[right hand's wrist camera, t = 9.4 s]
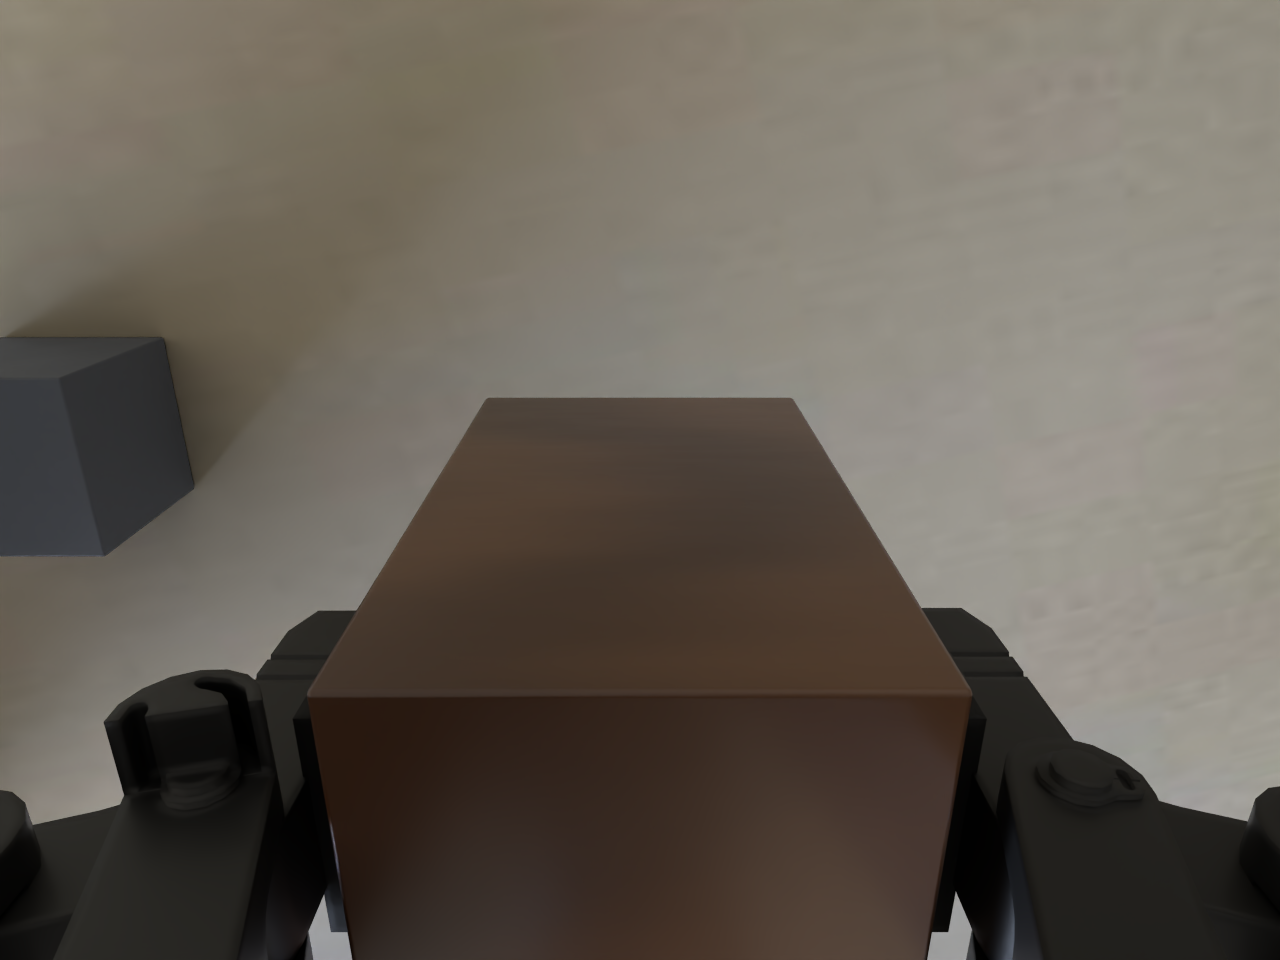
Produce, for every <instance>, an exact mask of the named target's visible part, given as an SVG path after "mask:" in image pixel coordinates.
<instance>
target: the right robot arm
mask: <svg viewBox="0 0 1280 960" xmlns="http://www.w3.org/2000/svg"><path fill="white" fill-rule="evenodd" d="M921 609H922V610H923V612H924V613H925V615H926V617H927V618H928V620H929V622H930V623H931V625H932V626H933V628H934V630H935V631H936V633H937V635H938V636H939V638H940V639H941V641H942V643H943V644H944V646H945V648H946V649H947V651H948V653H949V654H950V656H951V657H952V659H953V661H954V662H955V664H956V666H957V667H958V669H959V670H960V672H961V674H962V675H963V677H964V679H965V680H966V682H967V684H968V685H969V687H970V688H971V691H972V701H971V707H970V713H969V719H968V724H967V730H966V736H965V742H964V748H963V753H962V759H961V765H960V771H959V777H958V783H957V788H956V794H955V800H954V806H953V812H952V817H951V823H950V829H949V835H948V841H947V847H946V852H945V858H944V864H943V870H942V876H941V881H940V887H939V893H938V899H937V905H936V911H935V916H934V922H933V928H932V932H948V931H949V925H950V919H951V914H952V908H953V903H954V897H955V892H957V895H958V897H959V899H960V902H961V904H962V907H963V909H964V911H965V914H966V916H967V918H968V921H969V923H970V925H971V928H972V933H971V938H970V943H969V948H968V953H967V958H966V960H1280V786H1279V787H1273V788H1268V789H1267V790H1266V791H1264V792H1263V793H1262V794H1261V795H1260V796H1258V797H1257V798H1256V799H1255V802H1254V805H1253V808H1252V811H1251V814H1250V817H1249V820H1248V822H1247V821H1243V820H1238V819H1233V818H1229V817H1224V816H1220V815H1215V814H1210V813H1206V812H1201V811H1197V810H1192V809H1187V808H1183V807H1179V806H1175V805H1172V804H1168V803H1165V802H1161V801H1159V800H1158V798H1157V795H1156V794H1155V792H1154V791H1153V789H1152V788H1151V787H1150V785H1149V784H1148V782H1147V781H1146V780H1145V778H1144V777H1143V776H1142V775H1141V774H1140V773H1139V772H1137V771H1136V770H1135V769H1134V768H1132V767H1131V766H1130V765H1128V764H1127V763H1126V762H1124V761H1123V760H1122V759H1120V758H1119V757H1116V756H1114V755H1112V754H1110V753H1108V752H1106V751H1104V750H1102V749H1100V748H1097V747H1095V746H1093V745H1090V744H1086V743H1082V742H1078V741H1074V740H1073V739H1072V737H1071V736H1070V735H1069V733H1068V732H1067V731H1066V729H1065V728H1064V727H1063V725H1062V724H1061V722H1060V721H1059V720H1058V718H1057V717H1056V716H1055V714H1054V713H1053V712H1052V710H1051V709H1050V707H1049V706H1048V705H1047V703H1046V702H1045V701H1044V699H1043V698H1042V697H1041V695H1040V694H1039V692H1038V691H1037V690H1036V688H1035V687H1034V686H1033V684H1032V683H1031V682H1030V680H1029V679H1028V677H1024V676H1023V671H1022V669H1021V668H1020V667H1019V665H1018V664H1017V662H1016V661H1015V660H1014V658H1013V657H1009V652H1008V650H1007V649H1006V647H1005V646H1004V645H1003V643H1002V642H1001V641H1000V639H999V638H998V637H997V635H996V634H995V632H994V631H993V630H992V628H990V627H989V626H987V625H986V624H984V623H983V622H981V621H980V620H978V619H977V618H975V617H974V616H972V615H971V614H969V613H968V612H966V611H965V610H963V609H962V608H921ZM355 613H356V611H317V612H316V613H314V614H313V615H311V616H310V617H309V618H307V619H306V620H304V621H303V622H301V623H300V624H298V625H297V626H295V627H294V628H292V629H291V630H289V631H288V632H287V634H286V635H285V636H284V638H283V639H282V640H281V642H280V643H279V645H278V646H277V647H276V649H275V650H274V651H273V653H272V654H271V660H267V661H266V662H265V664H264V665H263V667H262V668H261V669H260V671H259V672H258V673H257V678H256V680H254V679H253V678H251V677H250V676H249V675H248V674H244V673H239V672H235V671H231V670H200V671H195V672H191V673H186V674H182V675H178V676H173V677H170V678H167V679H165V680H162V681H160V682H157V683H155V684H153V685H150V686H148V687H145V688H143V689H141V690H140V691H138V692H137V693H135V694H134V695H132V696H131V697H129V698H128V699H126V700H125V701H123V702H122V703H120V704H119V705H118V706H117V707H116V708H115V709H114V710H113V712H112V713H111V714H110V715H109V716H108V718H107V719H106V720H105V721H104V725H105V728H106V732H107V736H108V739H109V743H110V746H111V750H112V753H113V757H114V760H115V764H116V768H117V771H118V775H119V778H120V782H121V785H122V789H123V792H124V797H123V799H122V802H121V804H120V805H118V806H114V807H111V808H107V809H104V810H100V811H95V812H91V813H86V814H82V815H77V816H73V817H68V818H63V819H59V820H54V821H50V822H45V823H41V824H36V825H32V822H31V819H30V816H29V813H28V810H27V807H26V804H25V802H23V801H22V800H21V799H20V798H19V797H17V796H16V795H15V794H14V793H13V792H9V791H2V790H0V960H313V955H312V948H311V943H310V938H309V933H308V931H309V928H310V926H311V924H312V921H313V919H314V916H315V914H316V912H317V909H318V907H319V905H320V902H321V900H322V898H323V895H325V901H326V906H327V912H328V917H329V923H330V928H331V932H348V931H347V925H346V920H345V914H344V908H343V902H342V896H341V891H340V885H339V879H338V873H337V867H336V862H335V856H334V850H333V844H332V838H331V833H330V827H329V821H328V815H327V809H326V804H325V798H324V792H323V786H322V780H321V774H320V769H319V763H318V757H317V751H316V745H315V740H314V734H313V728H312V722H311V716H310V711H309V705H308V699H307V692H308V689H309V688H310V686H311V684H312V683H313V681H314V680H315V678H316V676H317V675H318V673H319V671H320V670H321V668H322V666H323V665H324V663H325V662H326V660H327V658H328V657H329V655H330V653H331V652H332V650H333V648H334V647H335V645H336V644H337V642H338V640H339V639H340V637H341V635H342V634H343V632H344V631H345V629H346V627H347V626H348V624H349V622H350V621H351V619H352V617H353V616H354V614H355Z"/></svg>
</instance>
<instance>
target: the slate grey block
mask: <svg viewBox="0 0 1280 960" xmlns="http://www.w3.org/2000/svg"><path fill="white" fill-rule="evenodd" d="M193 489H194V484H193V480H192V475H191V470H190V465H189V460H188V455H187V451H186V446H185V441H184V436H183V431H182V426H181V422H180V417H179V412H178V407H177V402H176V397H175V393H174V388H173V383H172V378H171V373H170V369H169V364H168V359H167V354H166V349H165V344H164V340H163V338H161V337H1V338H0V556H106V555H107V554H109V553H110V552H111V551H112V550H114V549H115V548H116V547H118V546H119V545H120V544H122V543H123V542H124V541H126V540H127V539H128V538H130V537H131V536H132V535H134V534H135V533H136V532H137V531H139V530H140V529H141V528H143V527H144V526H145V525H147V524H148V523H149V522H151V521H152V520H153V519H155V518H156V517H157V516H159V515H160V514H161V513H162V512H164V511H165V510H166V509H168V508H169V507H170V506H172V505H173V504H174V503H176V502H177V501H178V500H180V499H181V498H182V497H184V496H185V495H186V494H187V493H189V492H190V491H191V490H193Z"/></svg>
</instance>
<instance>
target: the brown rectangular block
mask: <svg viewBox="0 0 1280 960" xmlns="http://www.w3.org/2000/svg"><path fill="white" fill-rule="evenodd" d="M307 699H308V705H309V711H310V716H311V722H312V728H313V734H314V740H315V745H316V751H317V757H318V763H319V769H320V774H321V780H322V786H323V792H324V798H325V804H326V809H327V815H328V821H329V827H330V833H331V838H332V844H333V850H334V856H335V862H336V867H337V873H338V879H339V885H340V891H341V896H342V902H343V908H344V914H345V920H346V925H347V931H348V937H349V943H350V949H351V954H352V960H927V957H928V951H929V945H930V940H931V934H932V928H933V922H934V916H935V911H936V905H937V899H938V893H939V887H940V881H941V876H942V870H943V864H944V858H945V852H946V847H947V841H948V835H949V829H950V823H951V817H952V812H953V806H954V800H955V794H956V788H957V783H958V777H959V771H960V765H961V759H962V753H963V748H964V742H965V736H966V730H967V724H968V719H969V713H970V707H971V701H972V691H971V688H970V687H969V685H968V684H967V682H966V680H965V679H964V677H963V675H962V674H961V672H960V670H959V669H958V667H957V666H956V664H955V662H954V661H953V659H952V657H951V656H950V654H949V653H948V651H947V649H946V648H945V646H944V644H943V643H942V641H941V639H940V638H939V636H938V635H937V633H936V631H935V630H934V628H933V626H932V625H931V623H930V622H929V620H928V618H927V617H926V615H925V613H924V612H923V610H922V609H921V607H920V605H919V604H918V602H917V600H916V599H915V597H914V595H913V594H912V592H911V591H910V589H909V587H908V586H907V584H906V582H905V581H904V579H903V578H902V576H901V574H900V573H899V571H898V569H897V568H896V566H895V564H894V563H893V561H892V560H891V558H890V556H889V555H888V553H887V551H886V550H885V548H884V547H883V545H882V543H881V542H880V540H879V538H878V537H877V535H876V534H875V532H874V530H873V529H872V527H871V525H870V524H869V522H868V520H867V519H866V517H865V516H864V514H863V512H862V511H861V509H860V507H859V506H858V504H857V503H856V501H855V499H854V498H853V496H852V494H851V493H850V491H849V489H848V488H847V486H846V485H845V483H844V481H843V480H842V478H841V476H840V475H839V473H838V472H837V470H836V468H835V467H834V465H833V463H832V462H831V460H830V459H829V457H828V455H827V454H826V452H825V450H824V449H823V447H822V445H821V444H820V442H819V441H818V439H817V437H816V436H815V434H814V432H813V431H812V429H811V428H810V426H809V424H808V423H807V421H806V419H805V418H804V416H803V414H802V413H801V411H800V410H799V408H798V406H797V405H796V403H795V401H794V400H793V399H792V398H487V399H486V400H485V402H484V403H483V405H482V407H481V408H480V410H479V412H478V413H477V415H476V416H475V418H474V420H473V421H472V423H471V425H470V426H469V428H468V430H467V431H466V433H465V434H464V436H463V438H462V439H461V441H460V443H459V444H458V446H457V448H456V449H455V451H454V452H453V454H452V456H451V457H450V459H449V461H448V462H447V464H446V465H445V467H444V469H443V470H442V472H441V474H440V475H439V477H438V479H437V480H436V482H435V483H434V485H433V487H432V488H431V490H430V492H429V493H428V495H427V497H426V498H425V500H424V501H423V503H422V505H421V506H420V508H419V510H418V511H417V513H416V515H415V516H414V518H413V519H412V521H411V523H410V524H409V526H408V528H407V529H406V531H405V532H404V534H403V536H402V537H401V539H400V541H399V542H398V544H397V546H396V547H395V549H394V550H393V552H392V554H391V555H390V557H389V559H388V560H387V562H386V564H385V565H384V567H383V568H382V570H381V572H380V573H379V575H378V577H377V578H376V580H375V581H374V583H373V585H372V586H371V588H370V590H369V591H368V593H367V595H366V596H365V598H364V599H363V601H362V603H361V604H360V606H359V608H358V609H357V611H356V613H355V614H354V616H353V617H352V619H351V621H350V622H349V624H348V626H347V627H346V629H345V631H344V632H343V634H342V635H341V637H340V639H339V640H338V642H337V644H336V645H335V647H334V648H333V650H332V652H331V653H330V655H329V657H328V658H327V660H326V662H325V663H324V665H323V666H322V668H321V670H320V671H319V673H318V675H317V676H316V678H315V680H314V681H313V683H312V684H311V686H310V688H309V689H308V692H307Z"/></svg>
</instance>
